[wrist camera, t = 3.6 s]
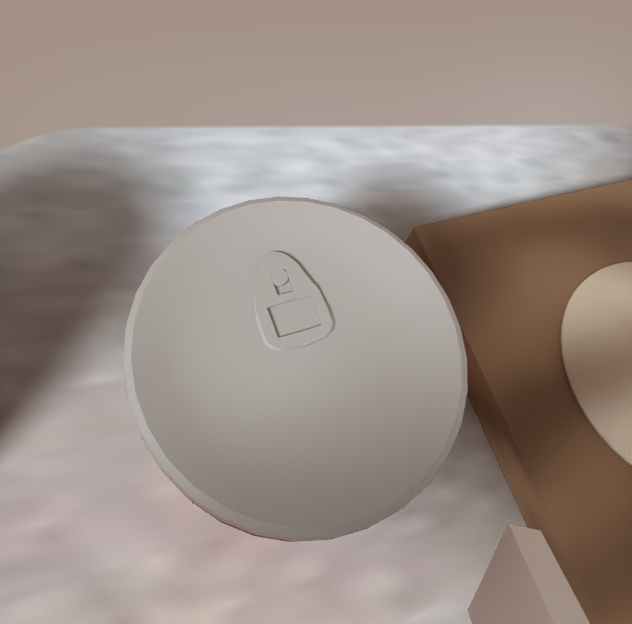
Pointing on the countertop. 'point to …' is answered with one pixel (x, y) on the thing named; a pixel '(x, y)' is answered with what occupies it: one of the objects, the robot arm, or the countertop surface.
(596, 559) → the board
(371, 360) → the canned food
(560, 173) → the countertop surface
